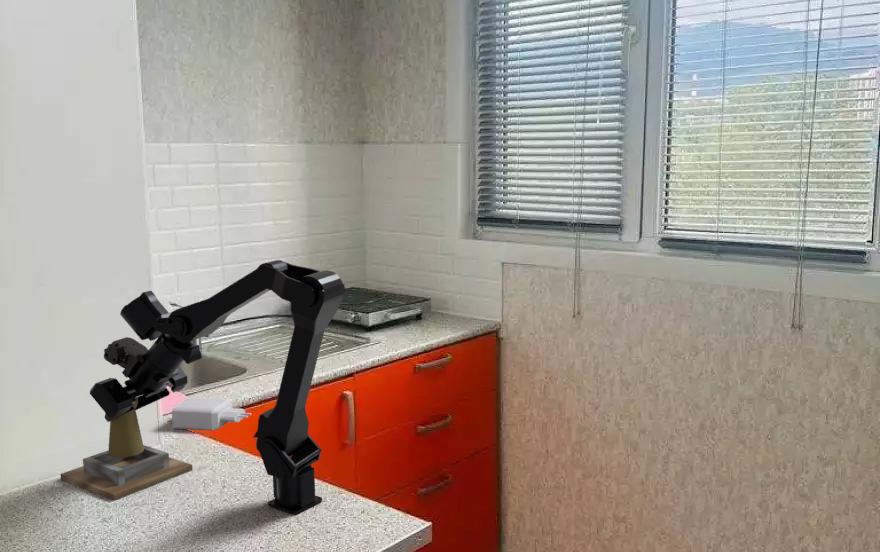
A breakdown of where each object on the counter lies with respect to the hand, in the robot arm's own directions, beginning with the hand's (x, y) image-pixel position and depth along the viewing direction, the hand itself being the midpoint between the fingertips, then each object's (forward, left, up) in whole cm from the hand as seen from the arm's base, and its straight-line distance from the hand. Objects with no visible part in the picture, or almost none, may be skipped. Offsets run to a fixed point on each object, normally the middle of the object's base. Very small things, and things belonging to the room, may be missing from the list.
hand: (117, 415), depth 155 cm
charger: (+7, -28, -11) cm, 31 cm away
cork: (-1, 0, -7) cm, 7 cm away
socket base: (-1, 0, -11) cm, 11 cm away
